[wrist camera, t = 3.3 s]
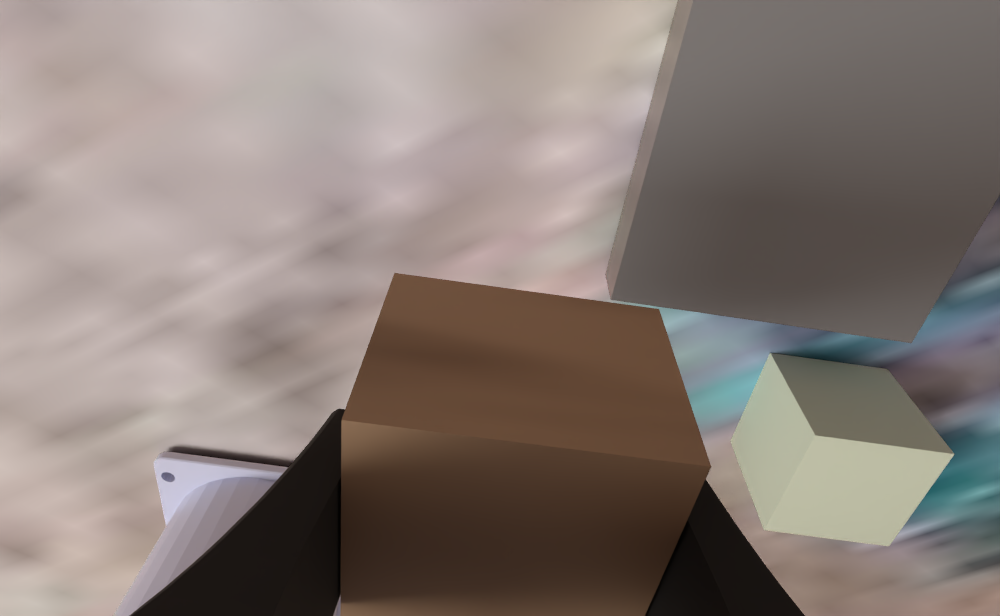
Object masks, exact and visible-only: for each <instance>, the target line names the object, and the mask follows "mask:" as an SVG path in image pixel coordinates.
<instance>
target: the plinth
mask: <svg viewBox="0 0 1000 616" xmlns="http://www.w3.org/2000/svg"><path fill="white" fill-rule="evenodd" d="M999 195H1000V0H678V2H677V6H676V10H675V13H674V17H673V21H672V25H671V29H670V32H669V36H668V40H667V44H666V48H665V51H664V55H663V59H662V63H661V66H660V70H659V74H658V78H657V82H656V85H655V89H654V93H653V97H652V101H651V104H650V108H649V112H648V116H647V119H646V123H645V127H644V131H643V135H642V138H641V142H640V146H639V150H638V154H637V157H636V161H635V165H634V169H633V173H632V176H631V180H630V184H629V188H628V191H627V195H626V199H625V203H624V207H623V210H622V214H621V218H620V222H619V226H618V229H617V233H616V237H615V241H614V244H613V248H612V252H611V256H610V260H609V263H608V267H607V271H606V279H607V284H608V289H609V293H610V298H611V300H617V301H624V302H631V303H638V304H645V305H652V306H659V307H666V308H673V309H679V310H686V311H693V312H700V313H707V314H714V315H721V316H728V317H735V318H742V319H749V320H756V321H762V322H769V323H776V324H783V325H790V326H797V327H804V328H811V329H818V330H825V331H832V332H839V333H845V334H852V335H859V336H866V337H873V338H880V339H887V340H894V341H901V342H908V343H912V341H913V340H914V338H915V336H916V335H917V333H918V331H919V330H920V328H921V326H922V325H923V323H924V321H925V320H926V318H927V316H928V315H929V313H930V311H931V310H932V308H933V306H934V304H935V303H936V301H937V299H938V298H939V296H940V294H941V293H942V291H943V289H944V288H945V286H946V284H947V283H948V281H949V279H950V278H951V276H952V274H953V273H954V271H955V269H956V267H957V266H958V264H959V262H960V261H961V259H962V257H963V256H964V254H965V252H966V251H967V249H968V247H969V246H970V244H971V242H972V241H973V239H974V237H975V236H976V234H977V232H978V231H979V229H980V227H981V225H982V224H983V222H984V220H985V219H986V217H987V215H988V214H989V212H990V210H991V209H992V207H993V205H994V204H995V202H996V200H997V199H998V197H999Z"/></svg>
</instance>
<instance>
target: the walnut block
mask: <svg viewBox="0 0 1000 616" xmlns="http://www.w3.org/2000/svg"><path fill="white" fill-rule="evenodd" d="M710 468H711V465H710V462H709V459H708V456H707V453H706V450H705V447H704V444H703V441H702V438H701V435H700V432H699V429H698V426H697V423H696V420H695V417H694V414H693V411H692V408H691V405H690V402H689V399H688V396H687V393H686V390H685V387H684V384H683V381H682V377H681V374H680V371H679V368H678V365H677V362H676V359H675V356H674V353H673V350H672V347H671V344H670V341H669V338H668V335H667V332H666V329H665V326H664V323H663V320H662V317H661V314H660V311H659V309H654V308H646V307H639V306H632V305H624V304H617V303H610V302H603V301H595V300H588V299H581V298H573V297H566V296H559V295H551V294H544V293H537V292H529V291H522V290H515V289H507V288H500V287H493V286H486V285H478V284H471V283H464V282H456V281H449V280H442V279H434V278H427V277H420V276H412V275H405V274H398V273H395V274H394V276H393V279H392V282H391V285H390V287H389V290H388V293H387V296H386V298H385V301H384V304H383V307H382V309H381V312H380V315H379V318H378V320H377V323H376V326H375V329H374V332H373V334H372V337H371V340H370V343H369V345H368V348H367V351H366V354H365V356H364V359H363V362H362V365H361V367H360V370H359V373H358V376H357V379H356V381H355V384H354V387H353V390H352V392H351V395H350V398H349V401H348V403H347V406H346V409H345V412H344V414H343V417H342V420H341V613H340V616H645V614H646V612H647V610H648V607H649V605H650V603H651V601H652V598H653V596H654V594H655V592H656V589H657V587H658V585H659V583H660V580H661V578H662V576H663V574H664V571H665V569H666V567H667V565H668V562H669V560H670V558H671V556H672V553H673V551H674V549H675V547H676V544H677V542H678V540H679V538H680V535H681V533H682V531H683V529H684V526H685V524H686V522H687V520H688V517H689V515H690V513H691V511H692V508H693V506H694V504H695V502H696V499H697V497H698V495H699V493H700V490H701V488H702V486H703V484H704V481H705V479H706V477H707V475H708V472H709V470H710Z"/></svg>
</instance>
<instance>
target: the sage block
mask: <svg viewBox="0 0 1000 616" xmlns="http://www.w3.org/2000/svg"><path fill="white" fill-rule="evenodd" d="M730 442H731V444H732V447H733V450H734V452H735V455H736V458H737V460H738V463H739V466H740V468H741V471H742V473H743V476H744V479H745V481H746V484H747V487H748V489H749V492H750V495H751V497H752V500H753V503H754V505H755V508H756V510H757V513H758V516H759V518H760V521H761V524H762V526H763V529H764V530H766V531H774V532H782V533H789V534H797V535H805V536H812V537H820V538H828V539H836V540H843V541H851V542H859V543H866V544H874V545H882V546H889V545H890V544H891V543H892V541H893V540H894V538H895V537H896V536H897V534H898V533H899V531H900V530H901V529H902V527H903V526H904V524H905V523H906V522H907V520H908V519H909V517H910V516H911V515H912V513H913V512H914V510H915V509H916V508H917V506H918V505H919V503H920V502H921V501H922V499H923V498H924V496H925V495H926V493H927V492H928V491H929V489H930V488H931V486H932V485H933V484H934V482H935V481H936V479H937V478H938V477H939V475H940V474H941V472H942V471H943V470H944V468H945V467H946V465H947V464H948V463H949V461H950V460H951V458H952V457H953V456H954V453H953V452H952V450H951V449H950V448H949V447H948V445H947V444H946V443H945V442H944V440H943V439H942V438H941V436H940V435H939V434H938V433H937V431H936V430H935V429H934V428H933V426H932V425H931V424H930V422H929V421H928V420H927V419H926V417H925V416H924V415H923V414H922V412H921V411H920V410H919V408H918V407H917V406H916V405H915V403H914V402H913V401H912V400H911V398H910V397H909V396H908V394H907V393H906V392H905V391H904V389H903V388H902V387H901V386H900V384H899V383H898V382H897V380H896V379H895V378H894V377H893V375H892V374H891V373H890V372H889V370H888V369H883V368H876V367H869V366H862V365H855V364H847V363H840V362H833V361H826V360H818V359H811V358H804V357H797V356H790V355H782V354H775V353H770V354H769V356H768V359H767V361H766V363H765V365H764V368H763V370H762V372H761V374H760V377H759V379H758V381H757V383H756V385H755V388H754V390H753V392H752V394H751V397H750V399H749V401H748V403H747V405H746V408H745V410H744V412H743V414H742V417H741V419H740V421H739V423H738V425H737V428H736V430H735V432H734V434H733V437H732V439H731V441H730Z"/></svg>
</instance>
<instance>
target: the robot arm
mask: <svg viewBox="0 0 1000 616" xmlns="http://www.w3.org/2000/svg"><path fill="white" fill-rule="evenodd" d="M344 412H345V410H344V409H337V410H336V411H334V412H333V413H332V414H331V415H330V416H329V418H328V419H327V421H326V422H325V423H324V425H323V426H322V427H321V429H320V430H319V431H318V432H317V434H316V435H315V436H314V438H313V439H312V440H311V441H310V442H309V444H308V445H307V446H306V447H305V449H304V450H303V451H302V452H301V453H300V454H299V456H298V457H297V458H296V459H295V460H294V462H293V463H292V464H291V465H290V466H289V467H282V466H275V465H267V464H260V463H252V462H244V461H237V460H229V459H221V458H214V457H206V456H198V455H191V454H183V453H176V452H162V453H160V454H159V455H158V457H157V458H156V460H155V461H154V469H155V474H156V479H157V484H158V489H159V494H160V498H161V503H162V508H163V513H164V518H165V523H166V527H165V529H164V531H163V532H162V534H161V536H160V538H159V539H158V541H157V543H156V544H155V546H154V548H153V549H152V551H151V553H150V554H149V556H148V558H147V559H146V561H145V563H144V564H143V566H142V568H141V569H140V571H139V573H138V574H137V576H136V578H135V580H134V581H133V583H132V585H131V586H130V588H129V590H128V591H127V593H126V595H125V596H124V598H123V600H122V601H121V603H120V605H119V606H118V608H117V610H116V611H115V613H114V615H113V616H340V613H341V420H342V417H343V414H344ZM645 616H805V615H804V614H803V613H802V612H801V610H800V609H799V608H798V607H797V605H796V604H795V603H794V602H793V600H792V599H791V598H790V597H789V595H788V594H787V593H786V592H785V590H784V589H783V588H782V587H781V585H780V584H779V583H778V581H777V580H776V579H775V577H774V576H773V575H772V573H771V572H770V571H769V569H768V568H767V567H766V565H765V564H764V563H763V561H762V560H761V559H760V557H759V556H758V554H757V553H756V552H755V550H754V549H753V547H752V546H751V545H750V543H749V542H748V541H747V539H746V538H745V536H744V535H743V534H742V532H741V531H740V529H739V528H738V526H737V525H736V524H735V522H734V521H733V519H732V518H731V516H730V515H729V513H728V512H727V510H726V509H725V507H724V506H723V505H722V503H721V502H720V500H719V499H718V497H717V496H716V494H715V493H714V491H713V490H712V488H711V487H710V485H709V484H708V482H707V481H706V479H705V481H704V484H703V486H702V488H701V490H700V493H699V495H698V497H697V499H696V502H695V504H694V506H693V508H692V511H691V513H690V515H689V517H688V520H687V522H686V524H685V526H684V529H683V531H682V533H681V535H680V538H679V540H678V542H677V544H676V547H675V549H674V551H673V553H672V556H671V558H670V560H669V562H668V565H667V567H666V569H665V571H664V574H663V576H662V578H661V580H660V583H659V585H658V587H657V589H656V592H655V594H654V596H653V598H652V601H651V603H650V605H649V607H648V610H647V612H646V614H645Z"/></svg>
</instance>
